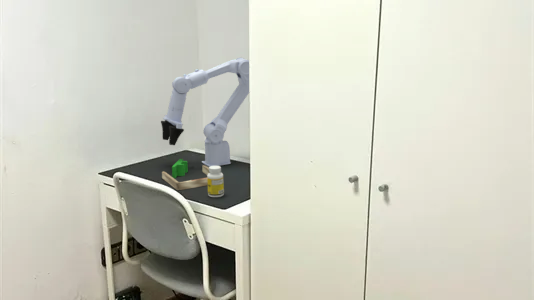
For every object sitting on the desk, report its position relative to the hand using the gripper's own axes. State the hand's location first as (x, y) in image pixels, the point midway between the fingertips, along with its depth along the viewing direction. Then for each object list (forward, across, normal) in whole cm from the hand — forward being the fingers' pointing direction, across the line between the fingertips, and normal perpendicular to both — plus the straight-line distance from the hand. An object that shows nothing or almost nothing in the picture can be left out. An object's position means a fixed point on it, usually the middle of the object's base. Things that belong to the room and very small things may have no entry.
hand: (168, 142), depth 223 cm
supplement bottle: (+8, +39, +5) cm, 40 cm away
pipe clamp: (+10, +10, +3) cm, 14 cm away
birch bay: (+9, +19, +4) cm, 21 cm away
